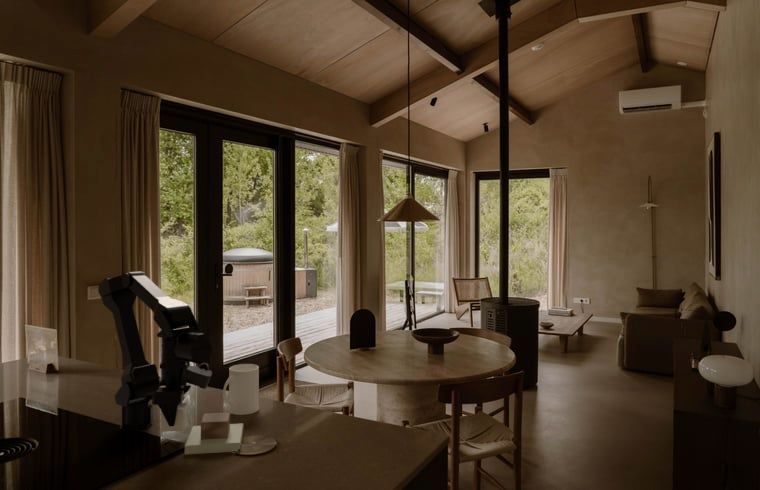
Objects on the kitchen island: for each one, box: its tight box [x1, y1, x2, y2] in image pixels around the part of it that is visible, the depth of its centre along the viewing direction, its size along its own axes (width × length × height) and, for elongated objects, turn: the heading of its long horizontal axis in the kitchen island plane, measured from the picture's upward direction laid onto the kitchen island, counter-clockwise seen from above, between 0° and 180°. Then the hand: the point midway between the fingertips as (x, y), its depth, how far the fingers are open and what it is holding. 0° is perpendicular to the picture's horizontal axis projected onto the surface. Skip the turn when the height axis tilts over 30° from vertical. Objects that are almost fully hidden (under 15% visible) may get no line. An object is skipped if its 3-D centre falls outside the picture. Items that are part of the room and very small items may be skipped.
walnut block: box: [200, 411, 231, 440], centre depth 125 cm, size 6×6×4 cm
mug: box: [222, 363, 260, 416], centre depth 147 cm, size 12×8×12 cm
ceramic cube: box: [160, 402, 188, 433], centre depth 126 cm, size 5×5×5 cm
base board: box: [184, 422, 244, 455], centre depth 125 cm, size 12×12×2 cm
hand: (174, 422), depth 126 cm, fingers closed on ceramic cube, 5 cm apart
